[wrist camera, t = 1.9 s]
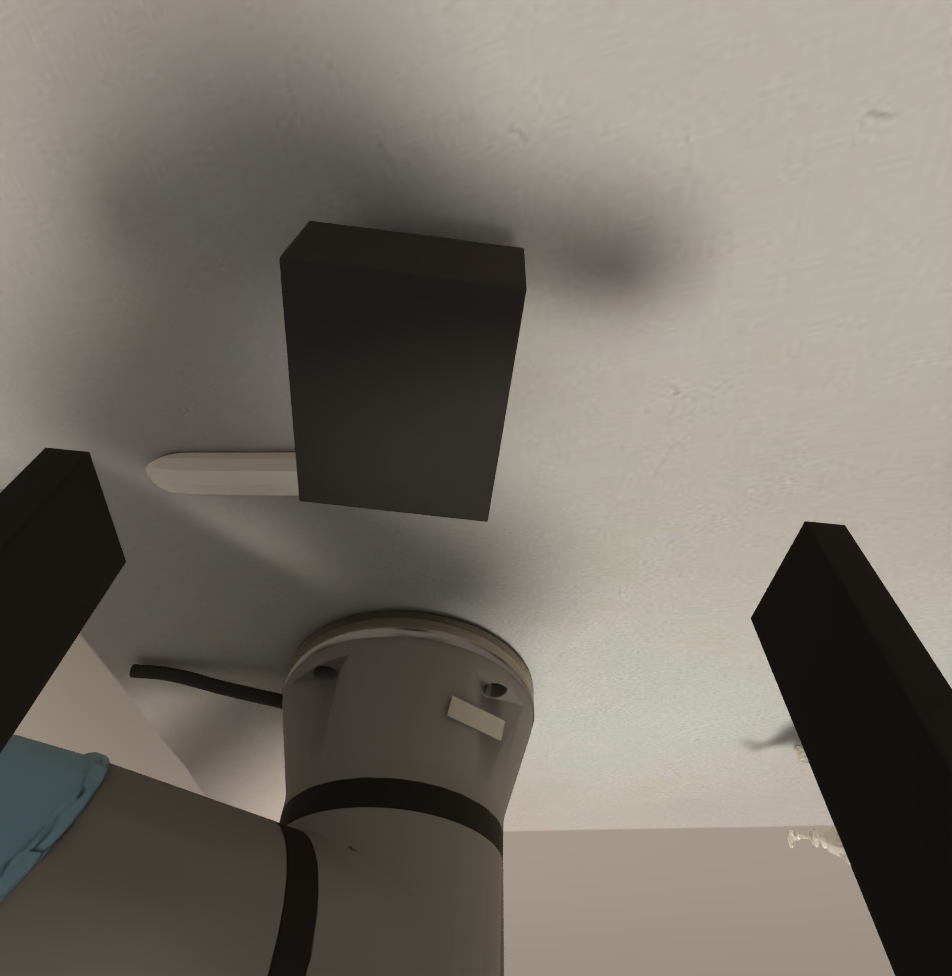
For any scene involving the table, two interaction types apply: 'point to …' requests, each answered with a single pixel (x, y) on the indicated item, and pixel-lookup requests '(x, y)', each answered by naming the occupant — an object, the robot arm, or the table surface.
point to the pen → (226, 473)
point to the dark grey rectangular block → (399, 366)
